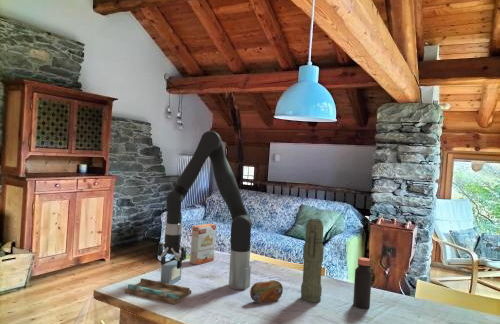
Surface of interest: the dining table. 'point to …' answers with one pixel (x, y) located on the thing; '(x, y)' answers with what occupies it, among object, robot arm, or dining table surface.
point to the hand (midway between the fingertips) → (170, 266)
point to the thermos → (312, 262)
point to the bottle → (362, 284)
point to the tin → (266, 291)
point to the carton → (170, 272)
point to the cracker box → (202, 243)
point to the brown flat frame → (158, 291)
